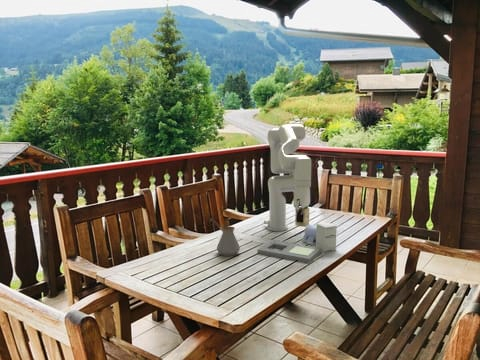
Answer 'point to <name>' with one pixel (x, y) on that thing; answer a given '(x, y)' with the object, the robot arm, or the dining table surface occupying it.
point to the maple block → (305, 218)
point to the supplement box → (326, 236)
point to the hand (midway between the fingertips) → (302, 220)
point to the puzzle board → (289, 251)
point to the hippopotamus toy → (309, 234)
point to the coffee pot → (227, 241)
